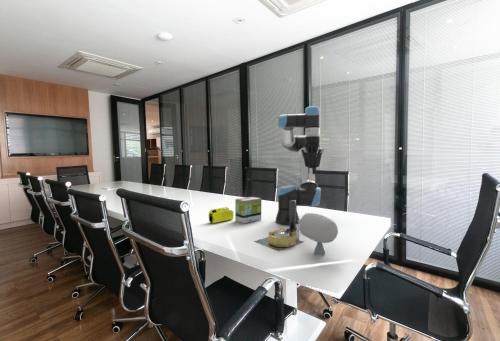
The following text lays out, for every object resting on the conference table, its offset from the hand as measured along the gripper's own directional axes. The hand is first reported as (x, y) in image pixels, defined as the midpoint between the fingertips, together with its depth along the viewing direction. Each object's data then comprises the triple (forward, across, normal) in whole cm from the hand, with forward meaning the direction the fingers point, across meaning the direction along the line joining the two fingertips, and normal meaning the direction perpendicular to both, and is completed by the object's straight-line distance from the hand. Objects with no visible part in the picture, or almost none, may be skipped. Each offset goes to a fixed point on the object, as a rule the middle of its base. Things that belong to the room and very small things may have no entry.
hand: (312, 180), depth 138 cm
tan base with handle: (+28, +1, -23) cm, 36 cm away
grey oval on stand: (+30, +18, -21) cm, 41 cm away
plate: (+29, -1, -25) cm, 39 cm away
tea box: (+30, -45, -8) cm, 55 cm away
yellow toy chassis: (+30, -56, -23) cm, 67 cm away
